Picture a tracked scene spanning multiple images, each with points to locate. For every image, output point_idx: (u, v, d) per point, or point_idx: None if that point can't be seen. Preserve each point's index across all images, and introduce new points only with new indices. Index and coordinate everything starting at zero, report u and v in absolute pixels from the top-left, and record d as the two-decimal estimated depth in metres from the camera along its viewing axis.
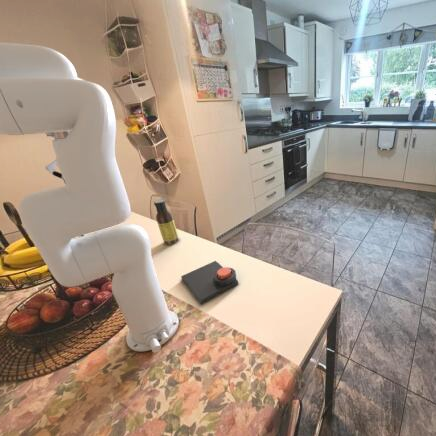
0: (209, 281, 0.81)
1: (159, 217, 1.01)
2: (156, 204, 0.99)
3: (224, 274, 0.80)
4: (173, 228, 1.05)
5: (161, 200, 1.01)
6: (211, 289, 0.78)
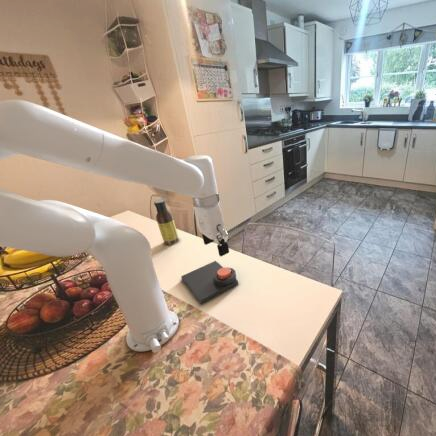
0: (209, 281, 0.81)
1: (159, 217, 1.01)
2: (156, 204, 0.99)
3: (224, 274, 0.80)
4: (173, 228, 1.05)
5: (161, 200, 1.01)
6: (211, 289, 0.78)
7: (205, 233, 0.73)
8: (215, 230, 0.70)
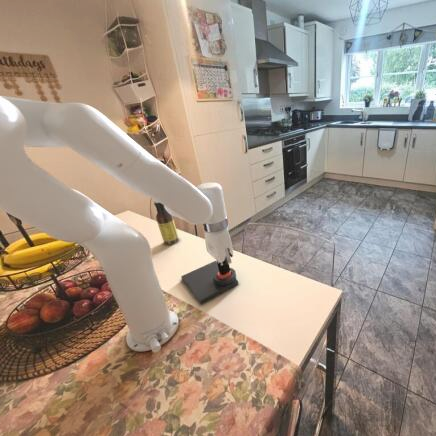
0: (209, 281, 0.81)
1: (159, 217, 1.01)
2: (156, 204, 0.99)
3: (224, 275, 0.80)
4: (173, 228, 1.05)
5: None
6: (211, 289, 0.78)
7: (214, 256, 0.76)
8: (223, 254, 0.73)
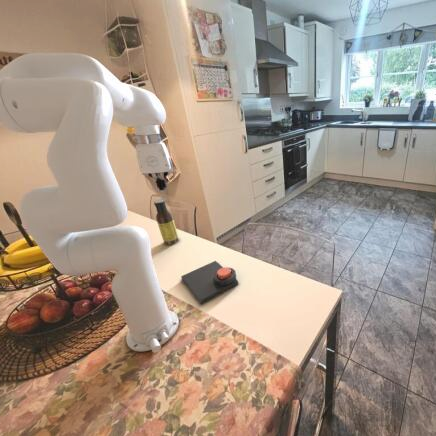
0: (209, 281, 0.81)
1: (159, 217, 1.01)
2: (156, 204, 0.99)
3: (224, 274, 0.80)
4: (173, 228, 1.05)
5: (161, 200, 1.01)
6: (211, 289, 0.78)
7: (157, 169, 0.88)
8: (169, 162, 0.89)
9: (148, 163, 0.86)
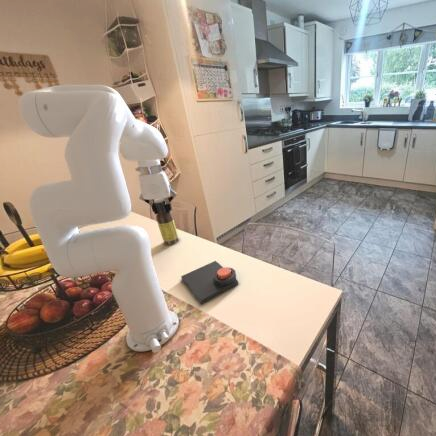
0: (209, 281, 0.81)
1: (159, 217, 1.01)
2: (156, 204, 0.99)
3: (224, 274, 0.80)
4: (173, 228, 1.05)
5: (161, 200, 1.01)
6: (211, 289, 0.78)
7: (158, 195, 0.97)
8: (169, 189, 0.98)
9: (150, 191, 0.96)
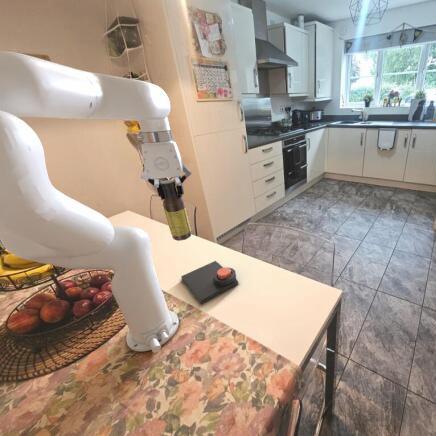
0: (209, 281, 0.81)
1: (167, 203, 0.76)
2: (164, 185, 0.74)
3: (224, 274, 0.80)
4: (185, 219, 0.80)
5: (170, 181, 0.76)
6: (211, 289, 0.78)
7: (167, 173, 0.72)
8: (181, 164, 0.74)
9: (156, 166, 0.71)
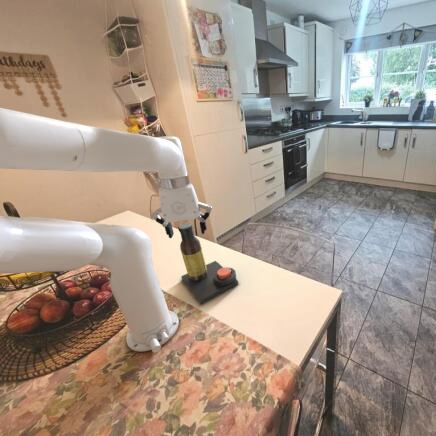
0: (209, 281, 0.81)
1: (185, 247, 0.76)
2: (181, 230, 0.74)
3: (224, 274, 0.80)
4: (201, 259, 0.80)
5: (187, 224, 0.76)
6: (211, 289, 0.78)
7: (184, 216, 0.72)
8: (198, 207, 0.73)
9: (173, 210, 0.70)
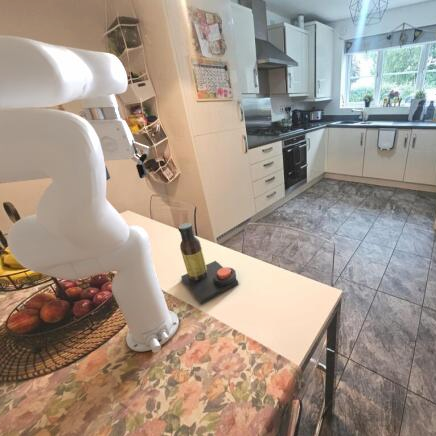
0: (209, 281, 0.81)
1: (185, 247, 0.76)
2: (181, 230, 0.74)
3: (224, 274, 0.80)
4: (201, 259, 0.80)
5: (187, 224, 0.76)
6: (211, 289, 0.78)
7: (116, 155, 0.66)
8: (132, 146, 0.67)
9: (103, 147, 0.65)
